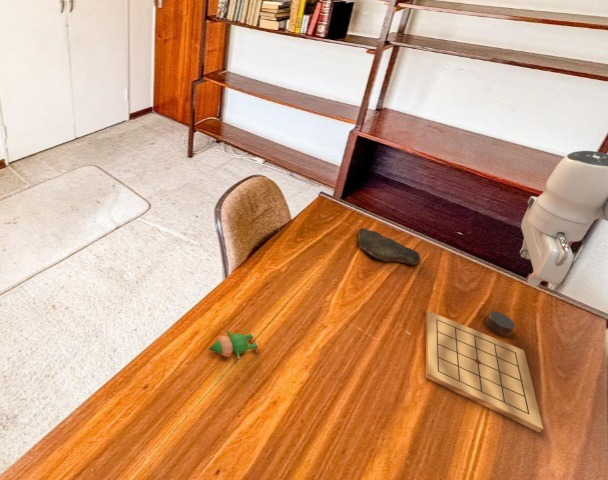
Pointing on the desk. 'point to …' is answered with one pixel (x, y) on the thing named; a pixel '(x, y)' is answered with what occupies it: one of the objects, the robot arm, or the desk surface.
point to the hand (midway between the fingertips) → (527, 269)
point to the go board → (481, 369)
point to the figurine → (233, 344)
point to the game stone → (500, 323)
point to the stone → (386, 248)
